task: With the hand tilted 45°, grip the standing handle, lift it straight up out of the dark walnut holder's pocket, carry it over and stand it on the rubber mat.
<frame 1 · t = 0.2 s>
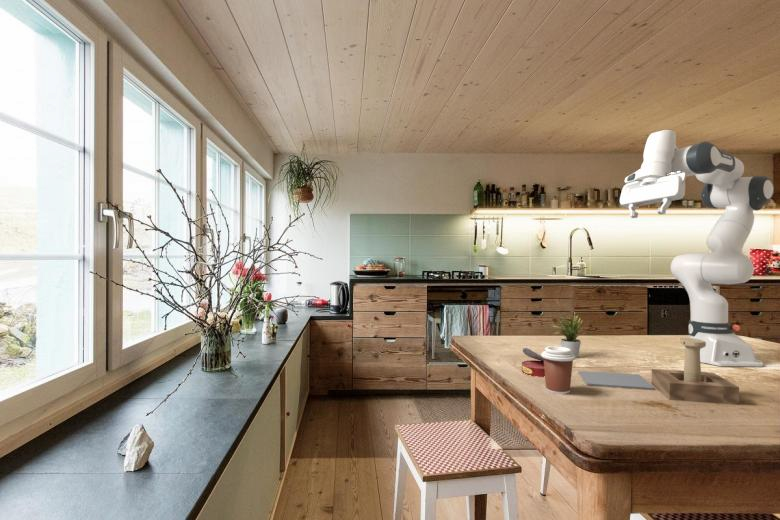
hand: (647, 215, 141), 51 cm above the table, tool tilted 20°, fingers open, 8 cm apart
coffee cup: (557, 391, 124), on the table
house plant: (569, 356, 166), on the table
mat: (614, 380, 134), on the table
canned food: (537, 373, 143), on the table
handle: (692, 394, 122), resting in holder
holder: (692, 393, 122), on the table
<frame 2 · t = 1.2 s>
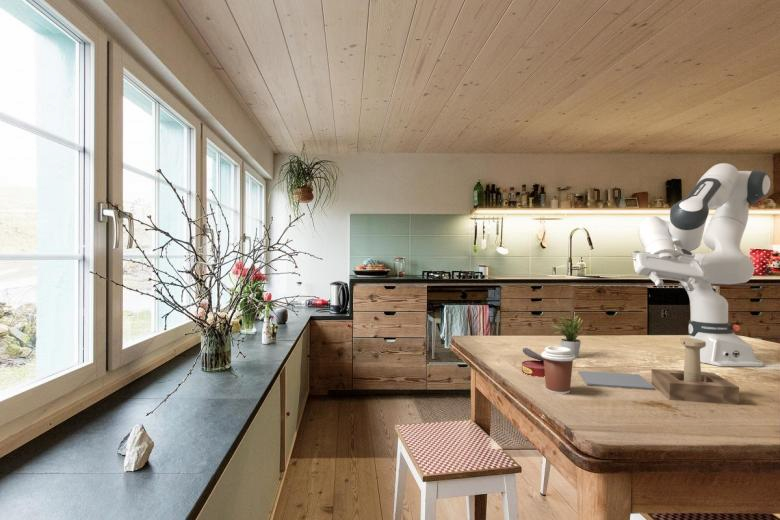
hand: (675, 287, 132), 29 cm above the table, tool tilted 45°, fingers open, 8 cm apart
nothing on the table moved.
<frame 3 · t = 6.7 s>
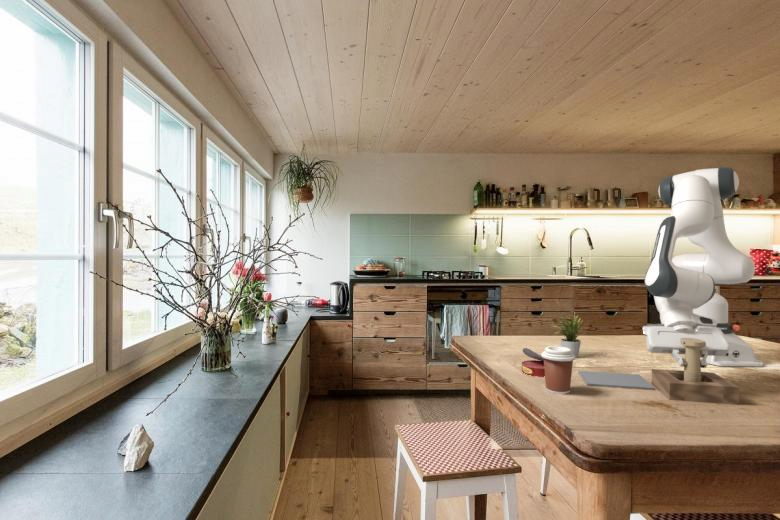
hand: (693, 366, 121), 8 cm above the table, tool tilted 45°, fingers closed on handle, 3 cm apart
handle: (692, 394, 122), resting in holder, touching gripper
everything else where it was.
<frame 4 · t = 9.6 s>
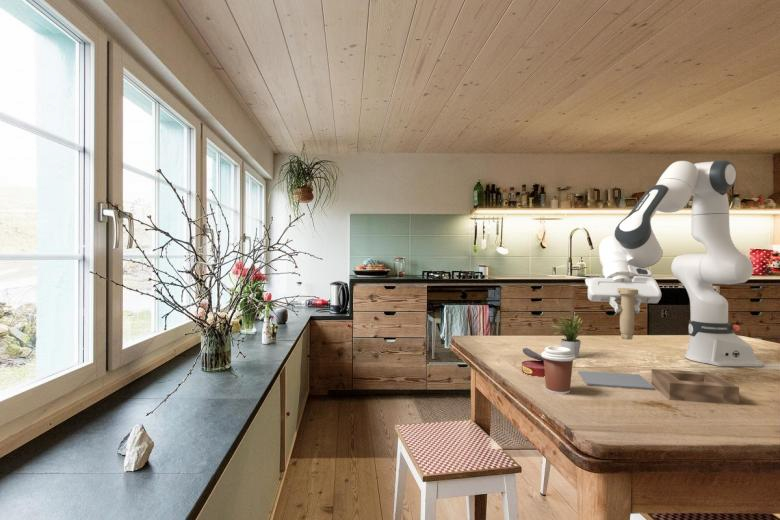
hand: (627, 311, 130), 22 cm above the table, tool tilted 45°, fingers closed on handle, 3 cm apart
handle: (626, 339, 131), point 13 cm above the table, touching gripper
everything else where it was.
when the fingers open (9 cm above the table, at t = 12.9 s): handle stays where it is, resting on mat.
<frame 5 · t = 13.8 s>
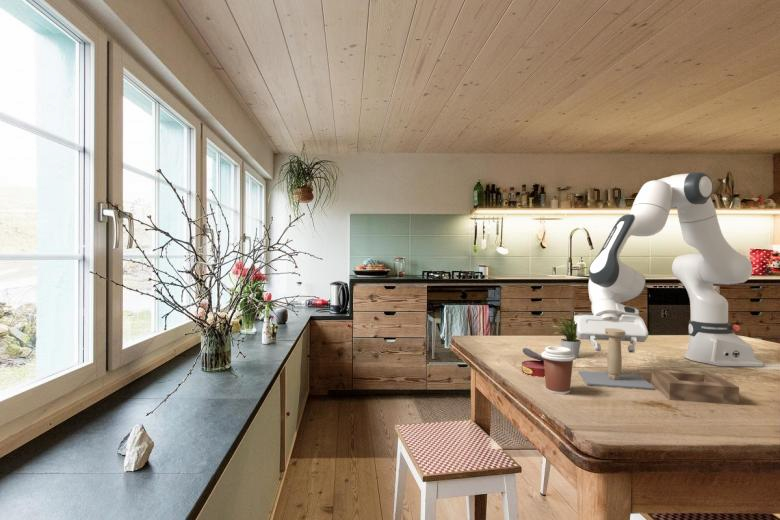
hand: (614, 350, 133), 9 cm above the table, tool tilted 45°, fingers open, 8 cm apart
handle: (614, 379, 134), resting on mat
everything else where it was.
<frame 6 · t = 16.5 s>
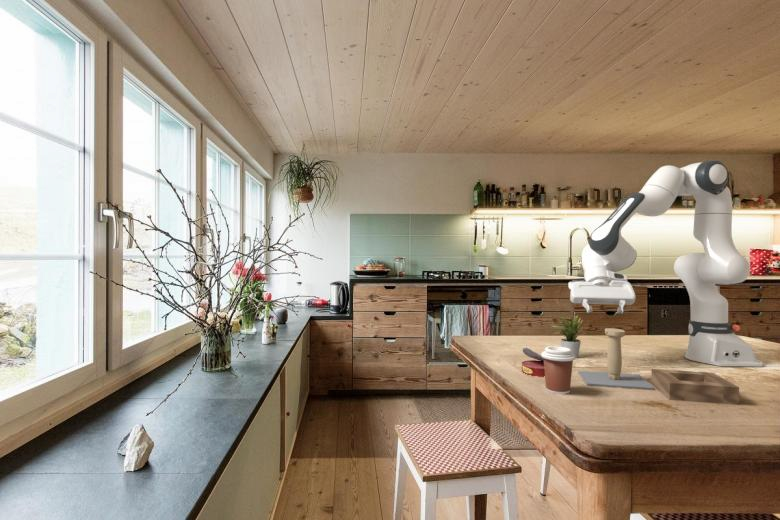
hand: (605, 312, 145), 19 cm above the table, tool tilted 45°, fingers open, 8 cm apart
nothing on the table moved.
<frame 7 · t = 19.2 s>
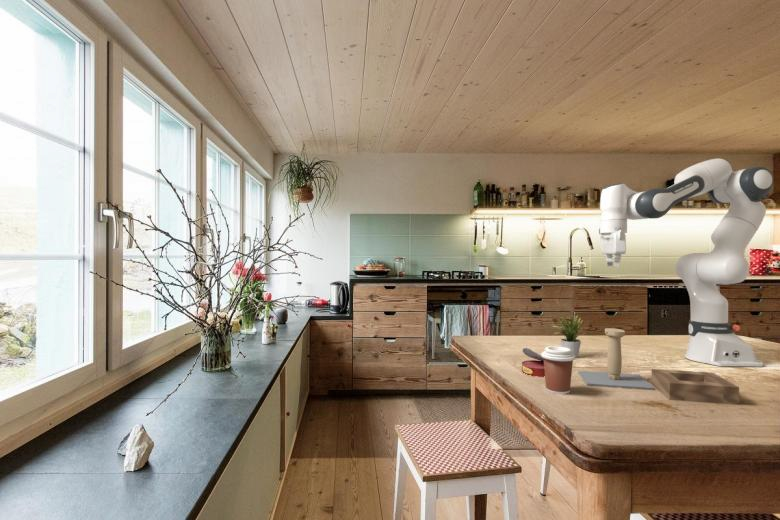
hand: (612, 266, 159), 34 cm above the table, tool pointing down, fingers open, 8 cm apart
nothing on the table moved.
at the end: handle inside the target area on the mat (0.1 cm from its centre), point 0.4 cm above the mat's base; handle tilted 0°; the gripper is holding nothing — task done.
